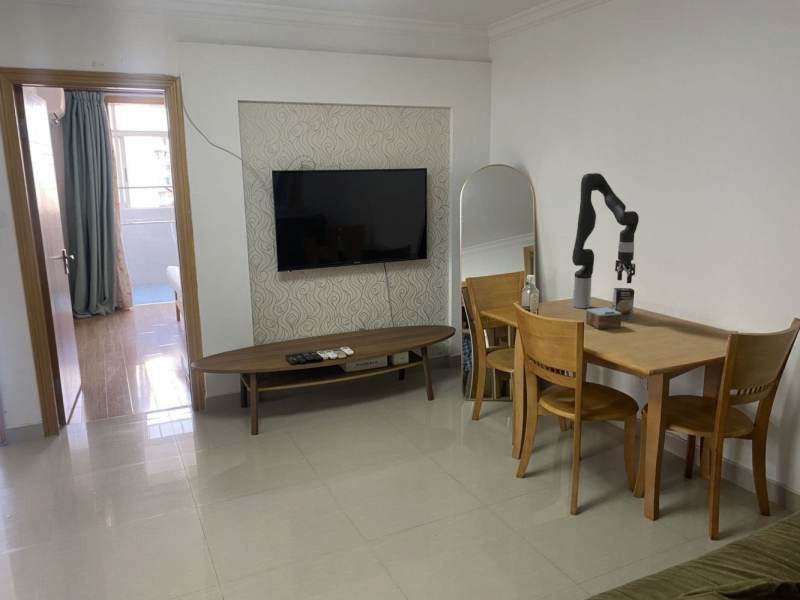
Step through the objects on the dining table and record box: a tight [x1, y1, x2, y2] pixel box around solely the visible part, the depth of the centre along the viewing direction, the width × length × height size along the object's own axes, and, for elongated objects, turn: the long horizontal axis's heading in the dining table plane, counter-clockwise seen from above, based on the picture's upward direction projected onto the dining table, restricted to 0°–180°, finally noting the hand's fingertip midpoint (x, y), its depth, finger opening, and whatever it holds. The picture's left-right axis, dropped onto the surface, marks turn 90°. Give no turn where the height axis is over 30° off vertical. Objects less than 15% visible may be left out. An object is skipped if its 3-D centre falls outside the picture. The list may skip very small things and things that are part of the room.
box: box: [585, 310, 622, 331], centre depth 300 cm, size 12×12×7 cm
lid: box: [586, 307, 621, 316], centre depth 299 cm, size 12×12×1 cm
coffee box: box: [611, 287, 635, 321], centre depth 312 cm, size 9×6×16 cm
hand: (624, 281), depth 310 cm, fingers open, 8 cm apart
